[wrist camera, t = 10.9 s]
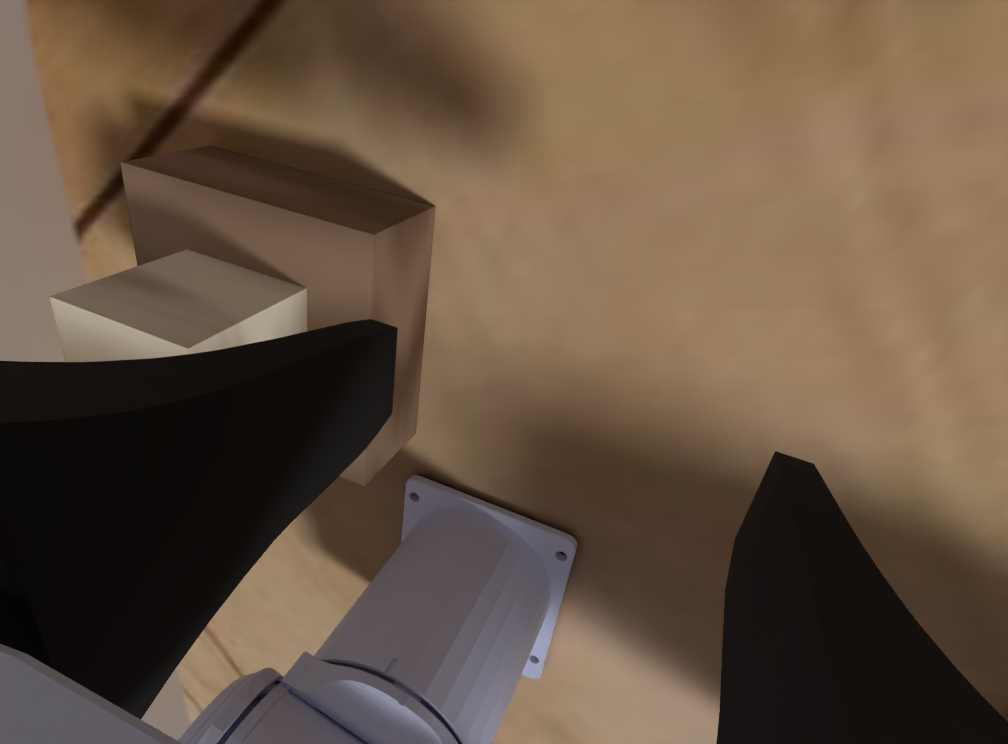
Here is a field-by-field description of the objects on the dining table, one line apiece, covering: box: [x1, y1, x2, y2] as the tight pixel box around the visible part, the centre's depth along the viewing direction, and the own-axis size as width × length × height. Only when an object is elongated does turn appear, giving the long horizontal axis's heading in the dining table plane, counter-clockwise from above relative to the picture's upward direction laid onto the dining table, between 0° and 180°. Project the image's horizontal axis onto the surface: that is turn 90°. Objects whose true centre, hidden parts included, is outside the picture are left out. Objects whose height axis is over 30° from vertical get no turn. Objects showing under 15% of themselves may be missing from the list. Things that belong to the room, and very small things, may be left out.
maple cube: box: [50, 249, 307, 362], centre depth 21 cm, size 5×5×5 cm
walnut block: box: [120, 146, 435, 487], centre depth 24 cm, size 10×10×4 cm
